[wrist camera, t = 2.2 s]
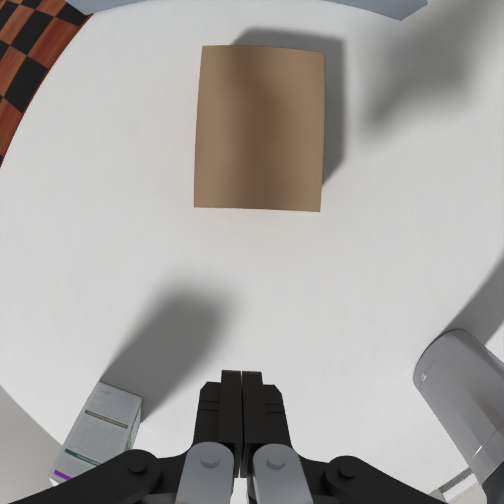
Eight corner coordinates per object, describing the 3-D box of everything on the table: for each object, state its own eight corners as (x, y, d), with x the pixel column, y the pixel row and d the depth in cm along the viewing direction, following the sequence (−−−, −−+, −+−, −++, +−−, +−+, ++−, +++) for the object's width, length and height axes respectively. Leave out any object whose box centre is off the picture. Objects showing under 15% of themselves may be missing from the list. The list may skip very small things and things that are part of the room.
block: (309, 73, 20) (324, 53, 15) (305, 204, 22) (320, 212, 18) (209, 68, 19) (202, 45, 15) (203, 200, 22) (193, 207, 18)
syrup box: (96, 379, 26) (43, 474, 12) (145, 397, 27) (107, 505, 13) (98, 409, 28) (56, 496, 14) (142, 425, 28) (112, 521, 14)
